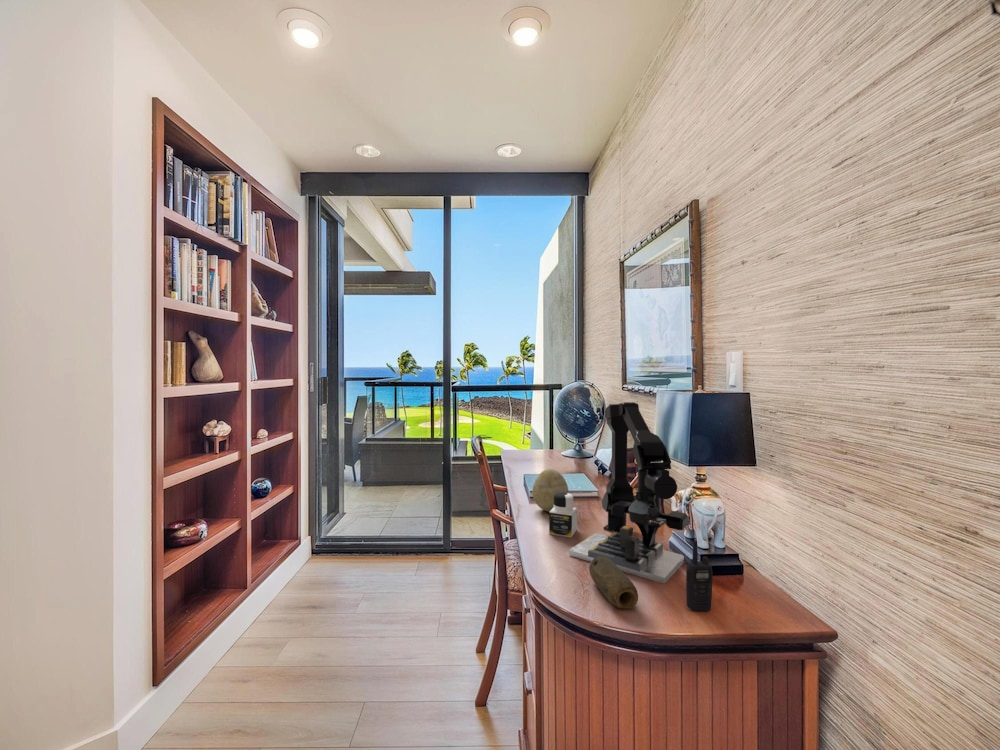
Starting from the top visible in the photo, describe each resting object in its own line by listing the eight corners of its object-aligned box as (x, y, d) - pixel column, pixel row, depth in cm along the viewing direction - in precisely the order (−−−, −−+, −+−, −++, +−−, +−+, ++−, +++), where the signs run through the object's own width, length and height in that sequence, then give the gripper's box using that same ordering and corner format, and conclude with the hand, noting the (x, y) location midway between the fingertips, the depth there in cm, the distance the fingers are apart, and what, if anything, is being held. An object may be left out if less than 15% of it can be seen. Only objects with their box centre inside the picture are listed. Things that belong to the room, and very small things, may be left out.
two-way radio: (689, 612, 98) (690, 542, 97) (680, 601, 102) (681, 534, 102) (715, 612, 98) (716, 542, 97) (704, 601, 102) (705, 534, 102)
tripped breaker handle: (624, 543, 126) (624, 524, 126) (632, 545, 125) (633, 526, 125) (619, 547, 124) (619, 527, 124) (628, 549, 122) (628, 530, 122)
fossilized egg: (570, 516, 157) (570, 473, 157) (533, 516, 157) (533, 473, 157) (565, 505, 170) (566, 464, 170) (531, 504, 170) (531, 464, 170)
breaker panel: (596, 537, 139) (596, 510, 139) (685, 560, 123) (685, 530, 123) (568, 556, 126) (568, 526, 125) (663, 584, 110) (664, 550, 109)
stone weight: (583, 582, 111) (583, 555, 111) (609, 579, 113) (609, 552, 113) (614, 615, 97) (614, 584, 96) (644, 611, 98) (644, 580, 98)
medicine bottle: (548, 534, 141) (549, 495, 141) (555, 526, 148) (555, 489, 148) (571, 537, 139) (572, 498, 138) (577, 529, 145) (577, 492, 145)
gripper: (602, 488, 120) (601, 547, 120) (675, 502, 108) (674, 567, 109) (619, 479, 128) (619, 534, 129) (689, 491, 117) (688, 552, 117)
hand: (648, 546), depth 121 cm, fingers closed
